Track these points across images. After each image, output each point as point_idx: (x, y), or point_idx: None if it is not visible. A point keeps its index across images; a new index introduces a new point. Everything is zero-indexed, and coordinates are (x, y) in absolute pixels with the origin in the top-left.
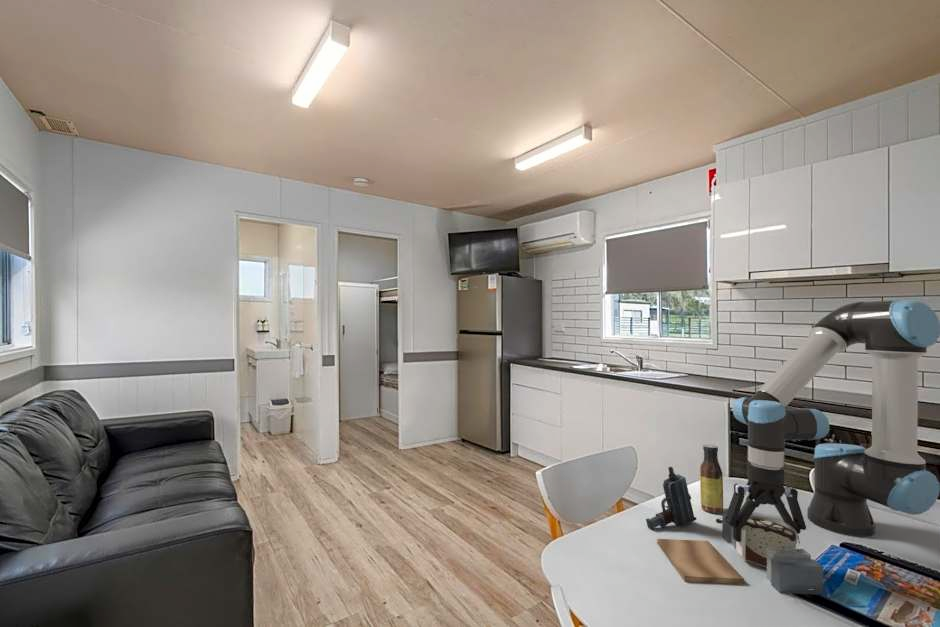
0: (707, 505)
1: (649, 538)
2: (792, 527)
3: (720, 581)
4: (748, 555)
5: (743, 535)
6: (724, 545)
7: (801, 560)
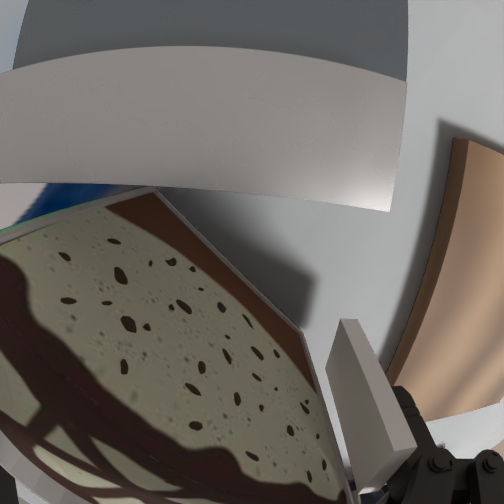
0: None
1: (485, 411)
2: None
3: None
4: (296, 342)
5: (397, 414)
6: None
7: (115, 35)
